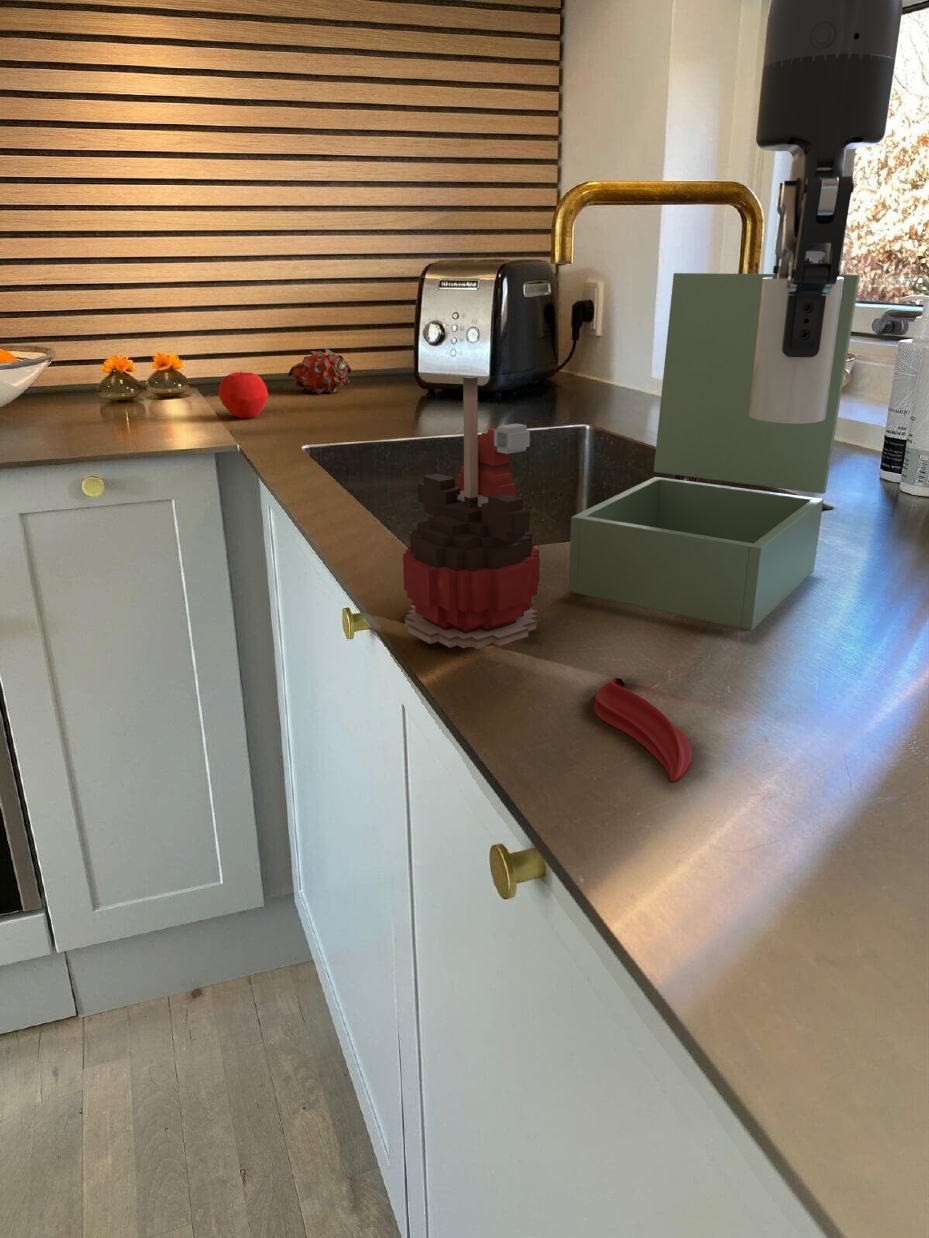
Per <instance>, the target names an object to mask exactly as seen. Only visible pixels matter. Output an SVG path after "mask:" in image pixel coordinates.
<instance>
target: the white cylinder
mask: <svg viewBox="0 0 929 1238" xmlns="http://www.w3.org/2000/svg"><path fill="white" fill-rule="evenodd" d="M787 280H788V277H765V278H763V279H762V287H761V297H760V307H759V317H758V327H757V337H756V347H755V357H754V366H753V376H752V386H751V396H750V406H749V417H750V418H753V419H755V420H759V421H765V422H772V423H785V424H806V423H816V422H820V421H823V420H825V417H826V409H827V401H828V394H829V386H830V378H831V371H832V363H833V356H834V348H835V340H836V333H837V325H838V318H839V310H840V302H841V295H842V287H843V280H844V279H843V278H841V277H839V278H837V280H836V283H835V284H833V287H832V288H831V289H830V293H829V294H822V295H825V296H826V302H825V310H824V318H823V326H822V333H821V341H820V349H819V352H818V354H817V355H816V356H814V357H788V356H786V355H785V354H784V353H783V351H782V344H783V335H784V326H785V317H786V308H787V299H788V295H795V294H788V293H787V289H788V288H786V281H787Z"/></svg>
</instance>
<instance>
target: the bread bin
mask: <svg viewBox="0 0 929 1238" xmlns="http://www.w3.org/2000/svg"><path fill="white" fill-rule="evenodd" d="M823 504H824V498H820V497H819V498H818V497H813V496H812V497H811V496H804V495H795V494H789V493H781V492H773V491H767V490H766V491H765V490H759V489H751V488H743V487H735V486H729V485H721V484H715V483H714V484H713V483H705V482H698V481H691V480H682V479H676V478H675V479H674V478H667V477H659V476H654V477H652V478H649V479H647V480H645V481H644V482H641V483H639V484H637V485H635V486H633V487H631V488H629V489H627V490H624V491H623V492H621V493H620V492H619V494H616V495H613V496H612V497H610V498H608V499H605V500H604V501H601V502H600V503H597V504H595V505H593V506H591V507H589V508H586V509H585V510H583V511H581V512H579V513H577V514H574V515H573V516H571V517H570V537H569V538H570V539H569V568H568V569H569V570H568V593H574V594H578V595H583V596H587V597H588V596H589V597H593V598H596V599H601V600H607V601H611V602H616V603H621V604H625V605H630V606H635V607H640V608H645V609H649V610H652V611H653V610H654V611H658V612H663V613H667V614H668V613H669V614H673V615H677V616H682V617H687V618H691V619H695V620H700V621H705V622H710V623H715V624H719V625H725V626H729V627H734V628H739V629H743V630H748V631H753V630H754V629H755V628H756V627H757V626H758V625H759V624H760V623H761V622H762V621H763V620H764V619H765V618H766V617H767V616H768V615H769V614H771V612H772V611H774V610H775V608H777V607H778V605H780V604H781V602H783V601H784V600H785V598H787V597H788V596H789V595H790V594H791V593H792V592H793V591H794V590H795V589H796V588H797V587H798V586H799V585H800V584H801V583H802V582H803V581H805V579H807V577H809V576H810V575H811V574H812V573H813V571H814V570H815V565H816V557H817V551H818V543H819V535H820V527H821V521H822V520H821V519H822V513H823V507H824V506H823Z"/></svg>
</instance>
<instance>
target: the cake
mask: <svg viewBox="0 0 929 1238" xmlns="http://www.w3.org/2000/svg"><path fill="white" fill-rule="evenodd" d="M462 380H463V383H462V387H463V389H462V391H463V392H462V393H463V396H462V399H463V465H461V466H460V474H459V473H458V474H457V486H456V478H455V477H452V476H448V475H445V474H442V473H434V474H428V475H424V476H423V482H419V483H418V503H422V504H423V507H424V509H423V510H424V513H425V514H428V515H431V516H429V517H427V520H426V521H421V522H417V528H416V529H412V532H411V533H410V534H409V537H410V538H409V539H410V545H407V549H405V553H403V554H402V564H403V565H402V567H403V568H402V569H403V590H404V591H405V592H406V598H407V599H410V600H411V601H412V602H411V603H412V605H410V606H409V610H407V615H405V616H404V623H405V624H404V625H405V626H407V632H408V633H409V634H410V635H412V636H414V637H417V638H418V639H419V640H422V641H424V642H426V643H428V644H430V645H432V644H435V643H440V644H442V645H444V646H446V647H447V648H452V647H457V646H458V647H460V648H462V649H465V648H466V649H467V648H469V647H473V648H475V649H477V650H478V649H481V648H484V647H487V646H489V645H491V644H494V645H496V646H498V647H499V646H503V645H506V644H510V643H513V642H516V641H518V640H521V639H524V638H528V637H529V632H531V631H534V630H537V624H538V618H539V611H538V610H536V609H533V604H532V597H534V596H537V595H538V591H539V590H538V589H539V588H538V587H539V582H540V549H537V548H535V547H534V545H535V543H533V533H532V532H529V531H530V526H531V525H530V522H531V519H530V515H531V514H530V513H531V511H530V510H529V509H526V508H524V498H522V497H520V496H516V483H513V473H512V472H510V454H515V453H516V454H517V453H521V452H526V451H527V448H528V447H530V446H531V445H530V444H531V432H530V430H527V429H528V428H527V427H528V426H527V424H522V423H510V424H504V425H498V426H497V427H493V428H487V431H484V432H481V436H479V434H478V433H479V427H478V426H479V425H478V424H479V423H478V422H479V417H478V415H479V414H478V413H479V412H478V411H479V409H478V408H479V407H478V406H479V404H478V402H479V401H478V397H479V396H478V391H479V390H478V386H479V383H478V381H479V380H478V376H472V375H471V376H464V377H463V378H462Z"/></svg>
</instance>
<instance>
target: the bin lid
mask: <svg viewBox="0 0 929 1238" xmlns="http://www.w3.org/2000/svg"><path fill="white" fill-rule="evenodd" d="M765 277H775V273H714V272H713V273H712V272H711V273H708V272H707V273H704V272H703V273H701V272H699V273H698V272H673V277H672V286H671V296H670V307H669V315H668V327H667V335H666V337H667V338H666V344H665V345H666V346H665V347H666V348H665V354H664V355H665V357H664V366H663V374H662V384H661V394H660V403H659V404H660V405H659V413H658V414H659V415H658V424H657V435H656V443H655V454H654V464H653V473H659V474H665V475H666V474H668V475H672V476H673V475H674V476H681V477H682V476H683V477H689V478H696V479H703V480H704V479H705V480H712V481H721V482H729V483H736V484H743V485H744V484H745V485H750V486H751V485H752V486H760V487H765V488H766V487H767V488H775V489H782V490H783V489H784V490H789V491H790V490H791V491H798V492H806V493H814V494H821V495H823V494H826V492H827V487H828V480H829V474H830V467H831V461H832V455H833V449H834V443H835V436H836V430H837V423H838V417H839V409H840V404H841V398H842V392H843V386H844V385H843V384H844V380H845V379H844V378H845V373H846V367H847V366H846V365H847V360H848V354H849V347H850V340H851V333H852V327H853V323H854V322H853V321H854V316H855V309H856V302H857V297H858V291H859V285H860V284H859V283H860V279H861V275H859V274H839V277H841V278H843V279H844V280H843V287H842V295H841V302H840V310H839V318H838V325H837V333H836V340H835V348H834V356H833V363H832V371H831V378H830V386H829V394H828V401H827V409H826V417H825V420H823V421H820V422H816V423H806V424H785V423H772V422H765V421H759V420H755V419H753V418H750V417H749V406H750V396H751V386H752V376H753V366H754V357H755V347H756V337H757V327H758V317H759V307H760V297H761V287H762V279H763V278H765Z"/></svg>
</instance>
